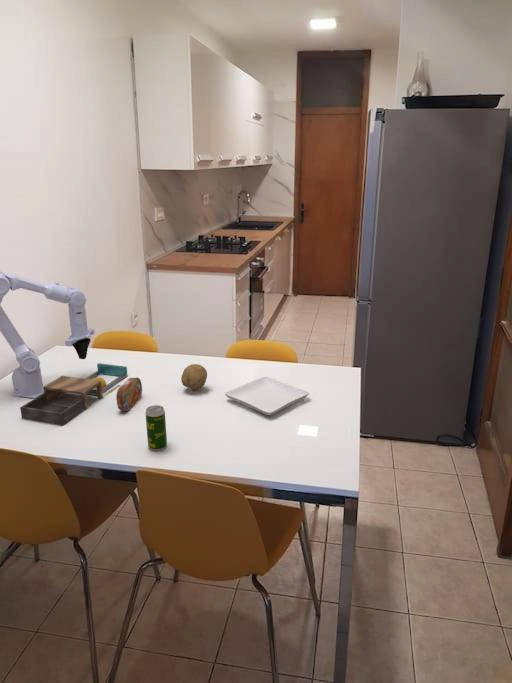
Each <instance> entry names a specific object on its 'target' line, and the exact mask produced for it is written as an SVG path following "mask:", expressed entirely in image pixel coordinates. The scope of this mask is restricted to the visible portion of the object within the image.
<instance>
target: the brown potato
mask: <svg viewBox="0 0 512 683" xmlns="http://www.w3.org/2000/svg"><path fill="white" fill-rule="evenodd" d="M207 378H208V372H207V369H206V367H205V366H202V365H201V364H196V363H192V364H189V365H188V366H186V367H185V368H184V369H183V372H182V374H181V377H180V382H181V384H182V386H184V387H186V388H188V389H191V390H192V391H194V392H199V391H200V390H201V389H202V388H203V387H204V386H205V384H206V382H207Z"/></svg>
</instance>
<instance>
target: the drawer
mask: <svg viewBox="0 0 512 683" xmlns="http://www.w3.org/2000/svg"><path fill="white" fill-rule="evenodd" d="M96 367H97V368H96V369H97V370H96V371H94V372H93V373H92V374H90V375H88V376H86V377H85V378H84V379H93V378H96V377H97V376H99V375H102V374H103V375H107V376H108V375H109V376H115V377H116V376H117V377H116V378H115V379H113V380H112V381H110V382H109V383H108V384H106V386H105V387H103V388H102V394H103V393H106V392H107V391H109V390H110V388H113V386H116V385H117V383H119V382H121V381H122V380H123V379H125V378H127V377H128V368H127V366H124V365H115V364H108V363H107V364H106V363H101V362H99V363H97V364H96ZM86 395H93V396H98V395H97V389H95V388H93V389H92V390H90V391H89V392H87V393H86Z"/></svg>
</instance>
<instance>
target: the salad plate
mask: <svg viewBox="0 0 512 683" xmlns="http://www.w3.org/2000/svg"><path fill="white" fill-rule="evenodd" d="M309 394H310V392H309V391H306V390H304V389H301V388H299V387H297V386H294V385H291V384H288V383H286V382H282V381H279V380H276V379H275V378H272V377H268V376H263V377H260V378H257V379H255V380H252V381H250V382H248V383H247V382H246V383H245V384H243V385H241V386H237V387H236V388H233V389H230V390H228V391H226V392H224V396H225V397H227V398H229V400H231V401H234V402H236V403H238V404H241V405H243V406H246V407H248V408H250V409H252V410H254V411H257V412H259V413H262V414H264V415H266V416H271V415H274V414H276V413H277V412H279V411H282V410H283V409H285V408H287V407H289V406H291V405H292V404H295V403H297V402H299V401H302V400H303V399H305V398H307V397H308V395H309Z"/></svg>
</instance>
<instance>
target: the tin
mask: <svg viewBox="0 0 512 683" xmlns="http://www.w3.org/2000/svg"><path fill="white" fill-rule="evenodd" d="M142 392H143V385H142V381H141V379H140V378H139V377H137V376H136V377H129V378H128V379H127V380H125V381H124V382H123V383H122V384H121V385H120V386H119V387H118V388H117V391H116V398H115V400H116V404H117V409H119V411H122V412H123V411H125V412H129V411H131V410H132V409H131V408H134V406H136V404H137V403H138V402H140V400H141V399H142V398H141V397H142Z"/></svg>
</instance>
